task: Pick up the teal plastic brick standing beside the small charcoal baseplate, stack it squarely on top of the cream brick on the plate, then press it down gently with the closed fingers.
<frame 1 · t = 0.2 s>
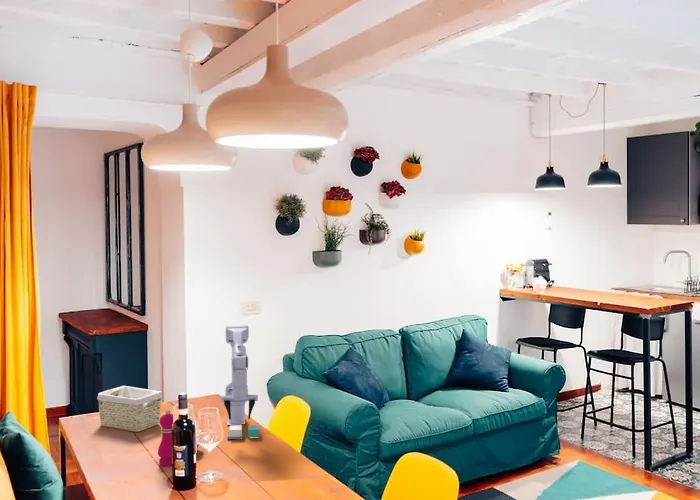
hand: (239, 418, 266), 10 cm above the table, tool pointing down, fingers open, 7 cm apart
cream brick: (235, 431, 273), on the baseplate, point 2 cm above the table
video game controller: (192, 453, 254), on the table
storage basket: (130, 425, 288), on the table
pepper mill: (168, 463, 243), on the table
teal brick: (253, 436, 274), on the table
baseplate: (235, 437, 273), on the table
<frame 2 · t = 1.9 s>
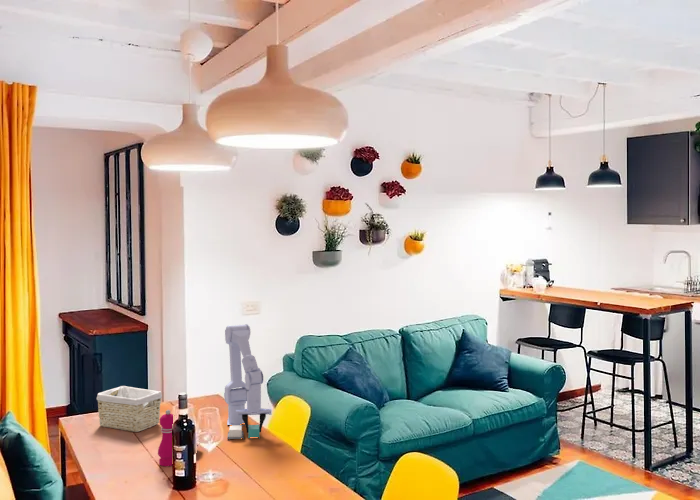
hand: (253, 431, 274), 2 cm above the table, tool pointing down, fingers closed on teal brick, 4 cm apart
teal brick: (253, 436, 274), on the table, touching gripper
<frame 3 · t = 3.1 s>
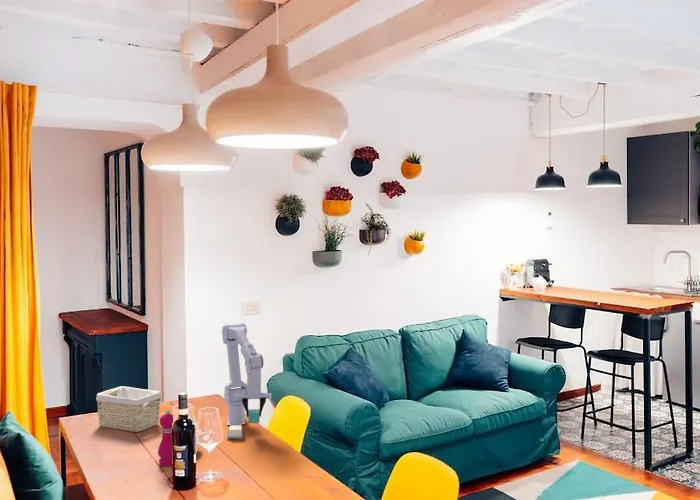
hand: (253, 416, 274), 9 cm above the table, tool pointing down, fingers closed on teal brick, 4 cm apart
teal brick: (253, 420, 274), point 7 cm above the table, touching gripper
when the fingers open (7 cm above the table, at t = 4.7 s): teal brick stays where it is, resting on cream brick.
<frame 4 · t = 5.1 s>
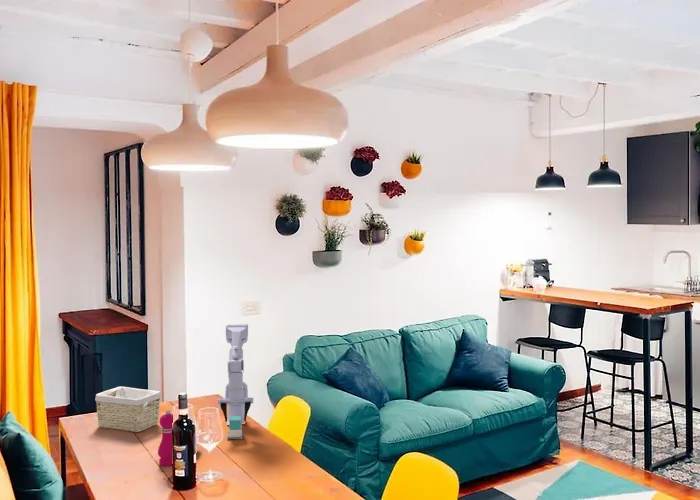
hand: (235, 420, 273), 7 cm above the table, tool pointing down, fingers open, 7 cm apart
teal brick: (235, 427, 273), point 4 cm above the table, touching cream brick
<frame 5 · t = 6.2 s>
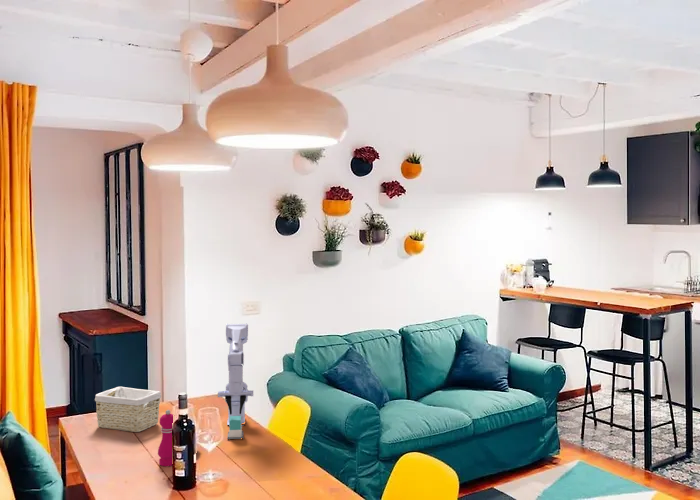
hand: (235, 413, 273), 10 cm above the table, tool pointing down, fingers open, 3 cm apart
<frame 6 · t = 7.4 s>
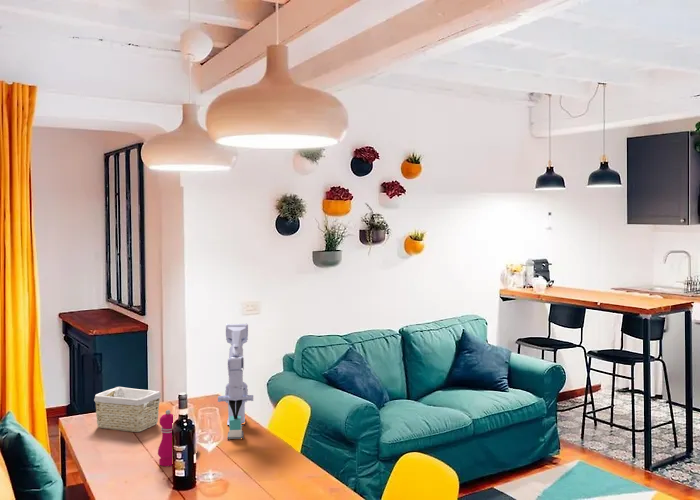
hand: (235, 418, 273), 8 cm above the table, tool pointing down, fingers closed, pressing on teal brick
teal brick: (235, 427, 273), point 4 cm above the table, touching cream brick, gripper
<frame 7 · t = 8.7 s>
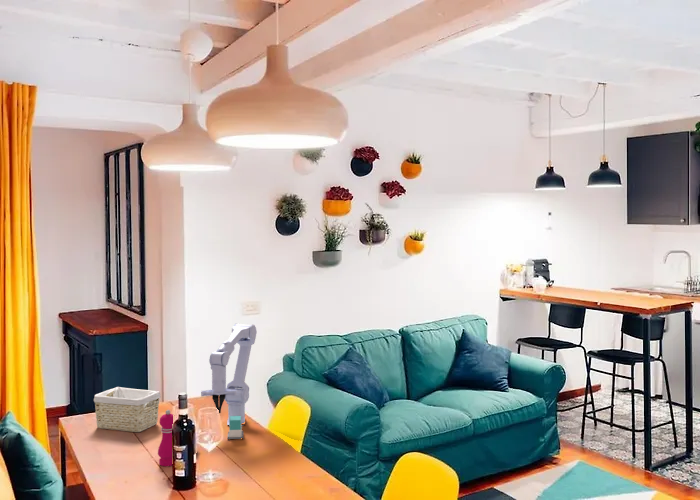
hand: (218, 412, 276), 9 cm above the table, tool pointing down, fingers closed
teal brick: (235, 427, 273), point 4 cm above the table, touching cream brick
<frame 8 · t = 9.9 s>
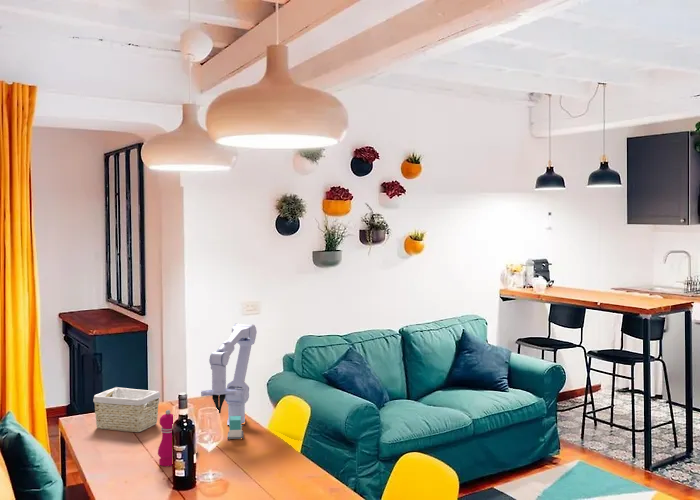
hand: (218, 412, 276), 9 cm above the table, tool pointing down, fingers closed
at the end: teal brick 0.1 cm off-centre on the cream brick, point 4.0 cm above the cream brick's base; teal brick tilted 0°; teal brick touching cream brick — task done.
